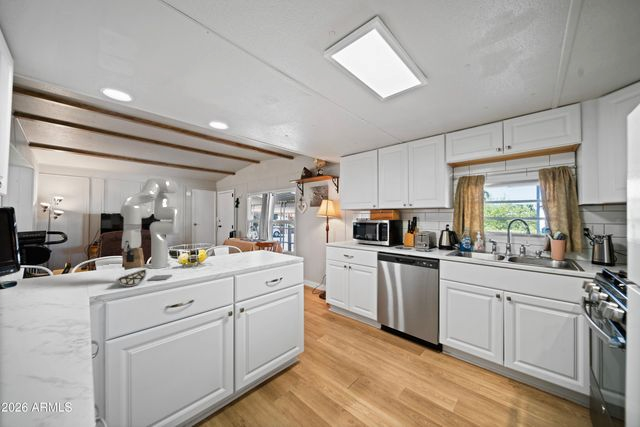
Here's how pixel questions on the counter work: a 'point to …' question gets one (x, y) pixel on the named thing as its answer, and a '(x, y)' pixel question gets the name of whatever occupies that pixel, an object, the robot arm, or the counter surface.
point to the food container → (132, 278)
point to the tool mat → (159, 277)
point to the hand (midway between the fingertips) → (132, 260)
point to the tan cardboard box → (137, 259)
